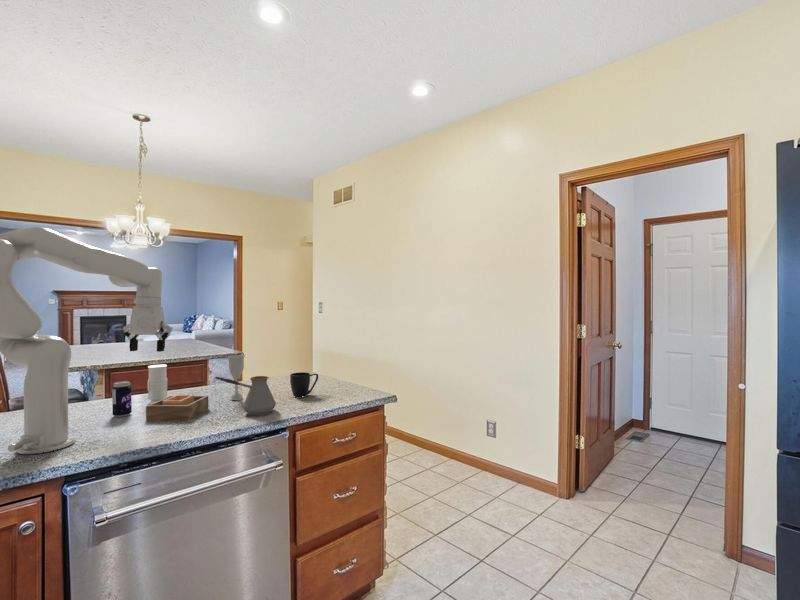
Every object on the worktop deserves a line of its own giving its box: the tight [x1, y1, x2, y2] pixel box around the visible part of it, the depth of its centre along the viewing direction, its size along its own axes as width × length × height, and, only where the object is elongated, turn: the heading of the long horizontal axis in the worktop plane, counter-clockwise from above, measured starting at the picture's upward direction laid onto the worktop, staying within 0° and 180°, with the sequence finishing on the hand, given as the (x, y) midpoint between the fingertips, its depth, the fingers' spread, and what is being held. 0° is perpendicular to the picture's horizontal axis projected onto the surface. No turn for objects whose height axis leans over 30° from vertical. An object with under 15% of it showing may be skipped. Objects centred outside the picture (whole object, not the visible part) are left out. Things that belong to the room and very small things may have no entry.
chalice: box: [227, 354, 246, 401], centre depth 169 cm, size 7×7×18 cm
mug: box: [289, 371, 319, 398], centre depth 175 cm, size 8×12×10 cm
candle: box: [147, 364, 168, 405], centre depth 165 cm, size 7×7×15 cm
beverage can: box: [111, 380, 133, 418], centre depth 147 cm, size 6×6×12 cm
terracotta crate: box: [162, 394, 195, 405], centre depth 148 cm, size 9×6×5 cm
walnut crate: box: [145, 395, 209, 421], centre depth 148 cm, size 15×15×5 cm
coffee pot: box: [212, 375, 277, 416], centre depth 146 cm, size 21×12×15 cm, turn 126°
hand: (147, 351), depth 143 cm, fingers open, 9 cm apart
